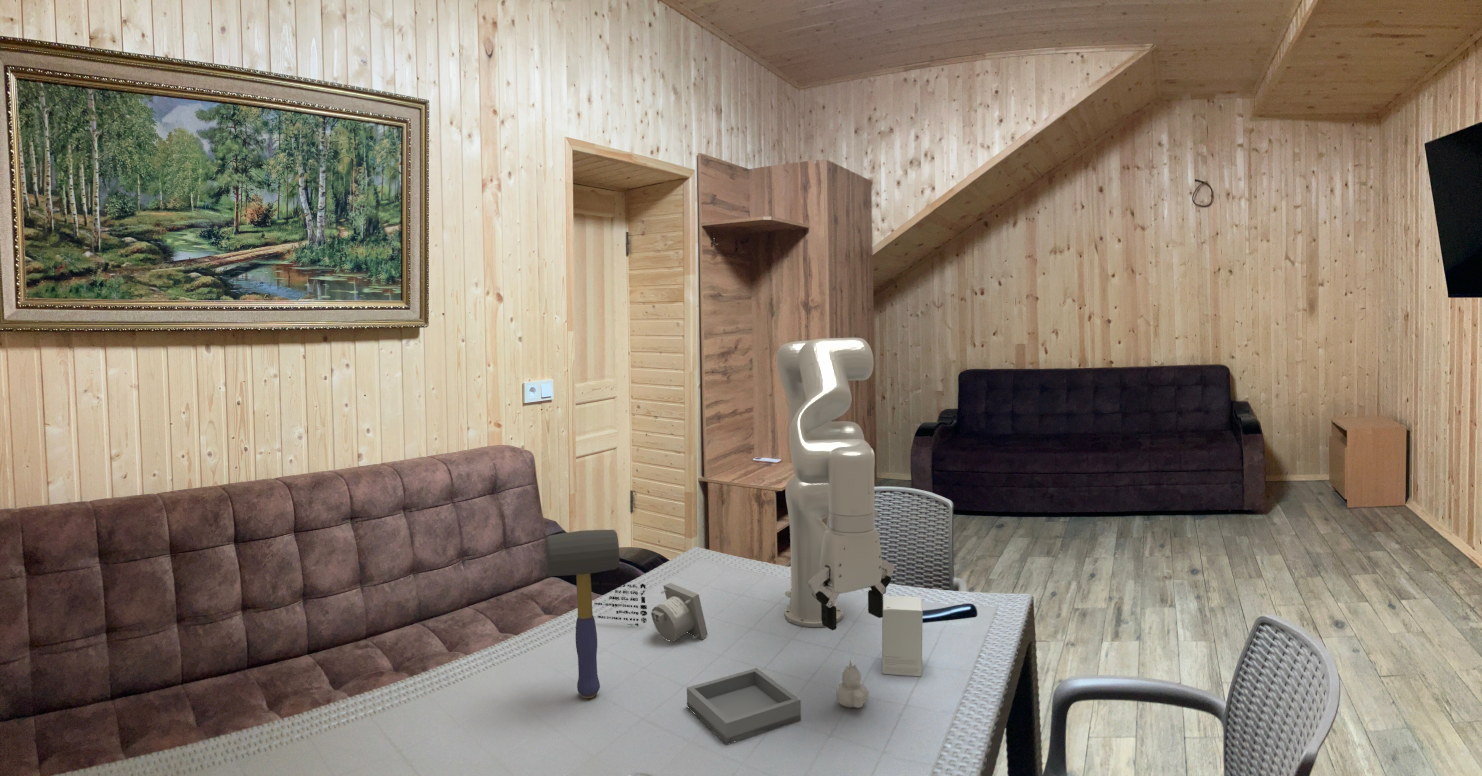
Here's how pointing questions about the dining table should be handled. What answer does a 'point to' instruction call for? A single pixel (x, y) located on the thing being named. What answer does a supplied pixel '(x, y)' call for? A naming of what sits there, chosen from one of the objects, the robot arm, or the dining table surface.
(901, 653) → the supplement box
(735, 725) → the tray
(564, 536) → the rubber mallet
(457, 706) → the dining table surface
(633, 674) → the dining table surface
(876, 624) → the dining table surface
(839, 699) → the beige rounded piece
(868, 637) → the dining table surface
